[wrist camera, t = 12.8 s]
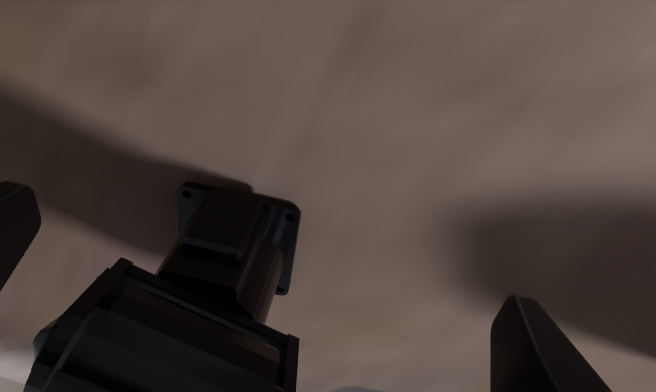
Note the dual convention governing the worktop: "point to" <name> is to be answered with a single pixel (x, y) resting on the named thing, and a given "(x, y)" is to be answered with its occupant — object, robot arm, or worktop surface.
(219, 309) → the robot arm
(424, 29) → the worktop surface
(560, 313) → the worktop surface
